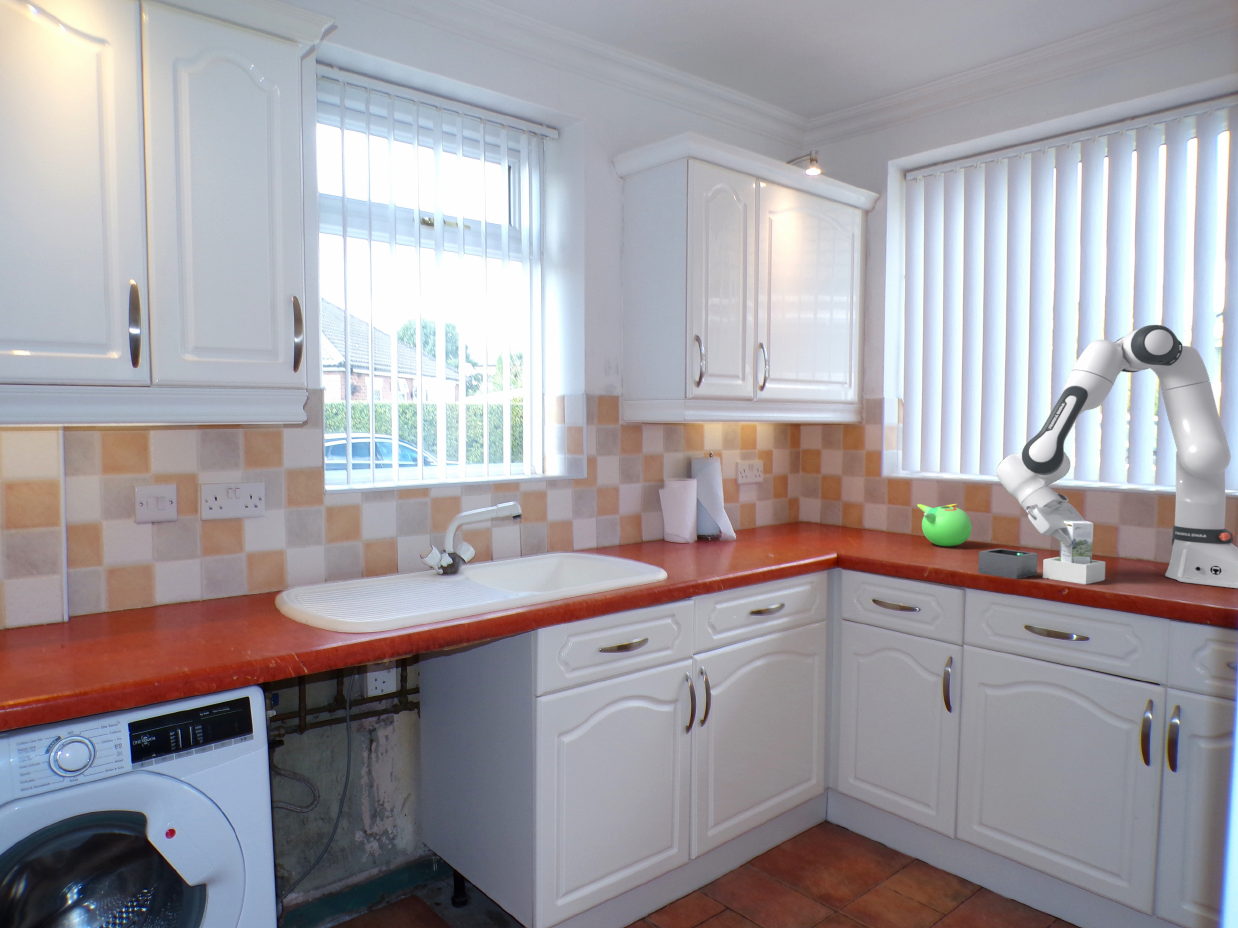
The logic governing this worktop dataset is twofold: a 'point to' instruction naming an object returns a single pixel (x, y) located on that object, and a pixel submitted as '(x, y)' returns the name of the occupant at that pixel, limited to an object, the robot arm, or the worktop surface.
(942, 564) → the worktop surface
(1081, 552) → the syrup box
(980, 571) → the gray storage box
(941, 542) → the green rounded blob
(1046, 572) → the white storage tray
